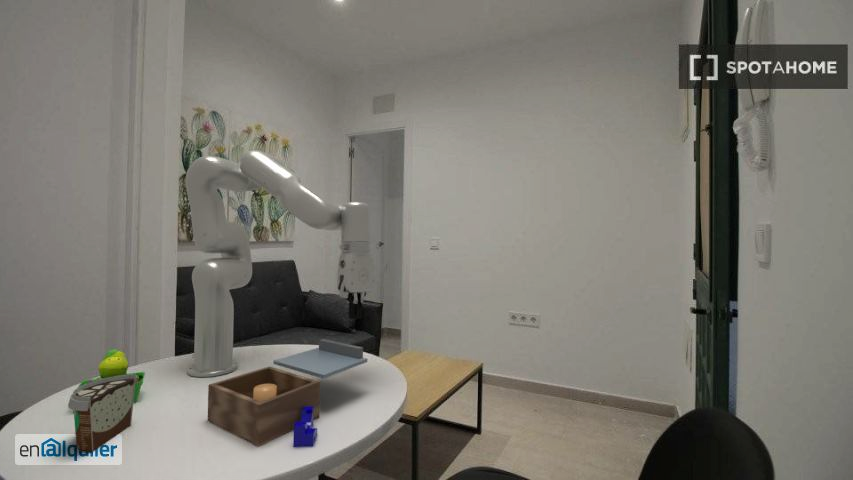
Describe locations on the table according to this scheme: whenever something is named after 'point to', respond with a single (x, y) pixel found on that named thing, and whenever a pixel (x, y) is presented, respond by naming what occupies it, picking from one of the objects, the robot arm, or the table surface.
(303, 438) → the cable holder
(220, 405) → the housing
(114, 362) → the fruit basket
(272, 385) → the peg
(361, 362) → the lid
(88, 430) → the food container
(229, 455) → the table surface
